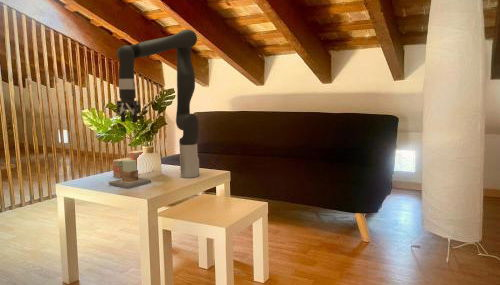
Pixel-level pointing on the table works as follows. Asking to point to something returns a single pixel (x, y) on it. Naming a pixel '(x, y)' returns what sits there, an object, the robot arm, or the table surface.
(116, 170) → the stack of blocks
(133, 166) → the sage block
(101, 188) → the table surface
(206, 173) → the table surface
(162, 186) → the table surface
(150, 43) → the robot arm
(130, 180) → the walnut block
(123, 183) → the base plate
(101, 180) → the table surface
